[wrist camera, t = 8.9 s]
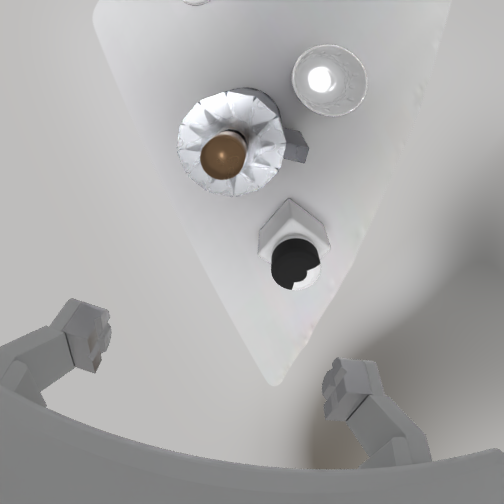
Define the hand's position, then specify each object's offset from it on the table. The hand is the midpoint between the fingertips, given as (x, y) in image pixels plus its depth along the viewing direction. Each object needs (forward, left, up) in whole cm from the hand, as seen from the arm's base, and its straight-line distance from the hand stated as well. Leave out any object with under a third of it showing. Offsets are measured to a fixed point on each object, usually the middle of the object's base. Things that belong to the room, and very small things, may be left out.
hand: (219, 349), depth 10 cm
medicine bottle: (+12, +8, -36) cm, 39 cm away
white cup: (-10, +6, -36) cm, 38 cm away
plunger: (-2, -2, -33) cm, 33 cm away
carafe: (-2, -1, -36) cm, 36 cm away
